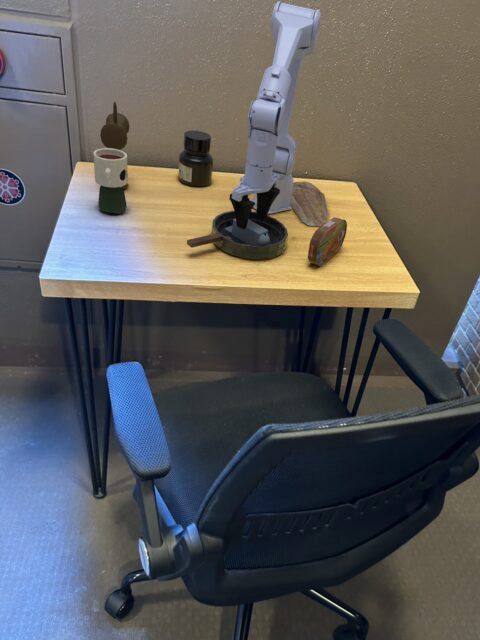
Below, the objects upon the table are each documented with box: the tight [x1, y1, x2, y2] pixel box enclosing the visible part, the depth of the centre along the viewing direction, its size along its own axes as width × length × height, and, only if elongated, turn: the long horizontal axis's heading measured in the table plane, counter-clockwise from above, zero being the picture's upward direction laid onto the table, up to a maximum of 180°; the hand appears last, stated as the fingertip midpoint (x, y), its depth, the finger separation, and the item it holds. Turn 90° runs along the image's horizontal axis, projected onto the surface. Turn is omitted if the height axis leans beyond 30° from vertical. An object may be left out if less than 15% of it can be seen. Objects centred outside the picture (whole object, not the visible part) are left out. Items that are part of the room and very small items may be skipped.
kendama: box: [99, 101, 131, 190], centre depth 126 cm, size 6×10×20 cm, turn 6°
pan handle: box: [186, 233, 222, 249], centre depth 113 cm, size 8×2×1 cm, turn 129°
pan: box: [211, 210, 289, 260], centre depth 120 cm, size 17×17×4 cm
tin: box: [307, 216, 348, 267], centre depth 119 cm, size 15×3×8 cm, turn 148°
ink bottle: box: [178, 130, 214, 187], centre depth 139 cm, size 10×9×12 cm
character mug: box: [92, 147, 129, 214], centre depth 118 cm, size 11×7×13 cm, turn 5°
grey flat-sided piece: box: [224, 219, 270, 246], centre depth 120 cm, size 12×4×4 cm, turn 49°
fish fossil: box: [290, 181, 328, 227], centre depth 142 cm, size 26×10×1 cm, turn 12°
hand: (251, 222), depth 119 cm, fingers open, 7 cm apart
